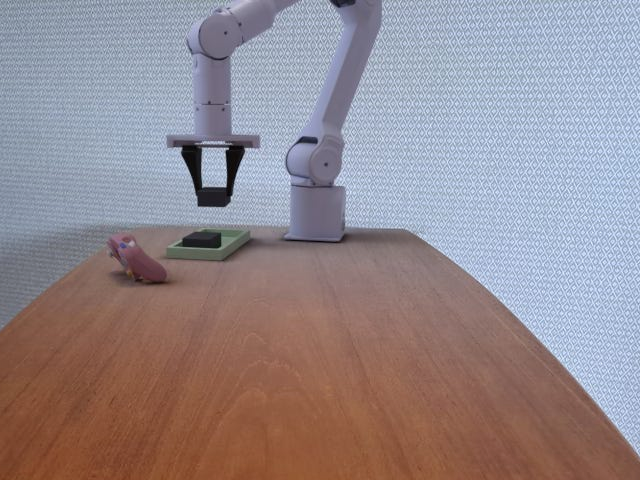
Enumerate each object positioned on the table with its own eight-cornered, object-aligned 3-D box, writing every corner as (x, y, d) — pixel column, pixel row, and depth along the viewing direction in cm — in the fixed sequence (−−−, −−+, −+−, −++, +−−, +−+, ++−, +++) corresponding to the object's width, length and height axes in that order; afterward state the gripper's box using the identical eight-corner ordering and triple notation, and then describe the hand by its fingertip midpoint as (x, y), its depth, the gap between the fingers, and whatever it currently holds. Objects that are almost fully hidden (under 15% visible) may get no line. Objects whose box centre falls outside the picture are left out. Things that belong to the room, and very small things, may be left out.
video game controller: (122, 280, 95) (95, 237, 91) (149, 263, 96) (124, 220, 92) (141, 297, 87) (113, 251, 83) (171, 278, 87) (144, 231, 84)
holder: (202, 236, 118) (202, 227, 117) (250, 239, 116) (250, 229, 115) (166, 257, 102) (166, 247, 101) (221, 260, 100) (221, 249, 99)
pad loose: (204, 201, 112) (204, 186, 111) (230, 202, 111) (230, 187, 110) (197, 206, 106) (196, 191, 105) (225, 207, 106) (224, 191, 105)
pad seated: (195, 246, 108) (194, 231, 107) (221, 247, 107) (221, 232, 106) (182, 254, 102) (181, 238, 101) (210, 255, 101) (210, 239, 100)
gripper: (262, 104, 106) (262, 193, 111) (172, 104, 108) (175, 191, 113) (257, 104, 100) (257, 198, 105) (161, 104, 101) (165, 197, 106)
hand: (214, 195), depth 108 cm, fingers closed on pad loose, 4 cm apart
